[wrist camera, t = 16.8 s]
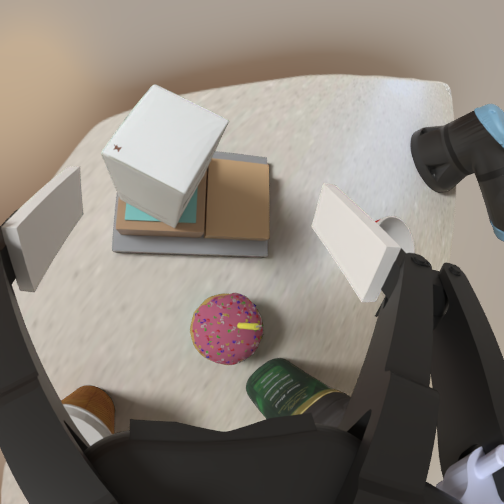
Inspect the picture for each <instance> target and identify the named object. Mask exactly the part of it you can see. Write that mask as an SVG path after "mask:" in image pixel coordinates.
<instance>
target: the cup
mask: <svg viewBox="0 0 504 504" xmlns="http://www.w3.org/2000/svg"><path fill="white" fill-rule="evenodd" d="M375 222H376V223H377V224H378V225H379V226H380V227H381V228H382V229H383V230H384V231H385V232H386V233H387V234H388V235H389V236H390V237H391V238H392V239H393V240H394V241H395V242H396V243H397V244H398V245H399V246H400V247H401V248H402V249H403V250H404V251H405V252H406V253H415V246H414V240H413V236H412V233H411V231H410V229H409V227H408V226H407V224H406V223H405V222H404V221H403V220H402V219H400V218H398V217H396V216H387V217H385V218H382V219H380V220H377V221H375Z"/></svg>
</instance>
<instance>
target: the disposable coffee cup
mask: <svg viewBox="0 0 504 504" xmlns="http://www.w3.org/2000/svg"><path fill="white" fill-rule="evenodd" d="M61 402H62V404H63V406H64V407H65V409H66V411H67V412H68V414H69V416H70V417H71V419H72V421H73V422H74V424H75V425H76V427H77V428H78V430H79V431H80V433H81V434H82V435H83V437H84V438H85V439H86V441H87V442H88V443H89V445H90V446H91V445H92V444H94V443H95V442H97V441H99V440H101V439H102V438H104V437H107V436H110V435H112V434H114V414H115V408H114V404H113V402H112V400H111V398H110V397H109V396H108V395H107V394H106V393H105V392H104V391H103V390H101V389H99V388H97V387H94V386H82V387H80V388H78V389H77V390H76V391H74V392H73V393H71V394H70V395H69V396H67V397H66V398H65V399H63V400H62V401H61Z"/></svg>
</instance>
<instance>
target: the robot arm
mask: <svg viewBox="0 0 504 504" xmlns="http://www.w3.org/2000/svg"><path fill="white" fill-rule="evenodd" d="M411 152H412V156H413V160H414V163H415V165H416V167H417V170H418V172H419V173H420V175H421V177H422V178H423V180H424V181H425V182H426V184H427V185H428V186H429V187H430V188H432V189H433V190H435V191H437V192H445V191H448V190H450V189H452V188H453V187H454V186H455V185H457V184H458V183H459V182H460V181H461V180H462V179H463V178H465V177H466V176H467V175H470V174H473V173H475V175H476V178H477V180H478V183H479V186H480V189H481V192H482V195H483V198H484V202H485V205H486V208H487V212H488V215H489V219H490V223H491V225H492V227H493V230H494V233H495V235H496V236H497V238H498V239H500V240H501V241H504V112H503V111H502V110H501V109H500V108H499V107H497V106H496V105H494V104H487V105H485V106H482V107H480V108H476V109H475V110H474V111H472V112H470V113H468V114H466V115H464V116H462V117H460V118H458V119H456V120H454V121H452V122H450V123H448V124H446V125H444V126H435V127H425V128H422V129H420V130H418V131H416V132H415V133H414V134H413V135H412V138H411ZM82 215H83V204H82V192H81V176H80V166H72V167H67V168H65V169H64V170H63V171H62V172H60V173H59V174H58V175H57V176H56V177H54V178H53V179H52V180H51V181H50V182H48V183H47V184H46V185H45V186H44V187H43V188H42V189H40V190H39V191H38V192H37V193H36V194H35V195H34V196H33V197H32V198H31V199H29V200H28V201H27V202H26V203H25V204H24V205H23V206H22V207H21V208H19V209H18V210H16V211H15V212H14V213H13V214H12V215H11V216H10V218H8V219H7V220H6V221H5V222H4V223H3V224H2V225H1V226H0V448H1V450H2V452H3V455H4V457H5V459H6V461H7V463H8V466H9V468H10V470H11V472H12V474H13V476H14V478H15V479H16V481H17V483H18V485H19V487H20V489H21V490H22V492H23V494H24V496H25V497H26V499H27V501H28V502H29V504H504V359H503V356H502V354H501V351H500V349H499V346H498V343H497V341H496V338H495V336H494V333H493V331H492V329H491V327H490V324H489V322H488V320H487V317H486V315H485V313H484V311H483V309H482V307H481V305H480V303H479V300H478V298H477V297H476V294H475V293H474V291H473V289H472V287H471V285H470V283H469V281H468V279H467V277H466V276H465V274H464V273H463V272H462V271H461V270H460V268H459V267H457V266H456V265H452V264H450V263H444V264H443V266H442V268H441V270H440V272H439V271H436V270H432V267H431V264H430V263H429V262H428V261H427V260H426V259H425V258H424V257H422V256H421V255H418V254H415V253H406V252H405V251H404V250H403V249H402V248H401V247H400V246H399V245H398V244H397V243H396V242H395V241H394V240H393V239H392V238H391V237H390V236H389V235H388V234H387V233H386V232H385V231H384V230H383V229H382V228H381V227H380V226H379V225H378V224H377V223H376V222H375V221H374V220H373V219H372V218H371V217H370V216H369V215H367V214H366V213H365V212H364V211H363V210H362V209H361V208H360V207H359V206H358V205H357V204H356V203H355V202H354V201H352V200H351V199H350V198H349V197H348V196H347V195H346V194H345V193H344V192H342V191H341V190H340V189H339V188H338V187H337V186H336V185H332V184H325V183H323V186H322V189H321V193H320V197H319V201H318V204H317V208H316V212H315V215H314V219H313V222H312V226H311V227H312V228H313V230H314V231H315V233H316V234H317V235H318V237H319V238H320V240H321V241H322V243H323V244H324V246H325V247H326V249H327V250H328V252H329V253H330V254H331V256H332V257H333V259H334V260H335V262H336V263H337V265H338V266H339V268H340V269H341V271H342V272H343V274H344V276H345V277H346V279H347V280H348V282H349V283H350V285H351V286H352V288H353V289H354V291H355V293H356V294H357V296H358V297H359V299H360V300H361V302H376V300H377V298H378V296H379V294H380V292H381V290H382V291H383V293H384V294H385V298H384V300H383V302H382V304H381V306H380V308H379V309H378V311H377V313H376V315H375V316H376V317H378V319H377V322H376V326H375V329H374V333H373V336H372V339H371V342H370V346H369V349H368V352H367V355H366V358H365V361H364V364H363V366H362V369H361V372H360V375H359V378H358V380H357V383H356V386H355V388H354V391H353V394H352V396H351V399H350V401H349V404H348V406H347V409H346V411H345V413H344V416H343V418H342V420H341V422H340V424H339V426H338V427H337V428H335V427H332V426H328V425H323V424H318V423H315V422H314V419H313V416H312V413H304V414H298V415H290V416H283V417H274V418H269V419H266V420H263V421H260V422H257V423H254V424H251V425H248V426H245V427H242V428H239V429H235V430H232V431H228V432H221V431H215V430H210V429H205V428H200V427H196V426H191V425H187V424H183V423H178V422H166V421H147V420H134V419H130V430H129V431H123V432H119V433H115V434H112V435H110V436H107V437H104V438H102V439H101V440H99V441H97V442H95V443H94V444H92V445H91V446H90V445H89V443H88V442H87V441H86V439H85V438H84V437H83V435H82V434H81V433H80V431H79V430H78V428H77V427H76V425H75V424H74V422H73V421H72V419H71V417H70V416H69V414H68V412H67V411H66V409H65V407H64V406H63V404H62V402H61V400H60V398H59V397H58V395H57V393H56V391H55V389H54V387H53V386H52V384H51V382H50V380H49V378H48V376H47V374H46V372H45V370H44V368H43V365H42V363H41V361H40V359H39V357H38V355H37V352H36V350H35V348H34V345H33V343H32V341H31V338H30V336H29V333H28V331H27V328H26V325H25V323H24V320H23V317H22V314H21V312H20V309H19V306H18V303H17V300H16V296H15V293H14V290H13V288H12V283H13V282H14V280H15V278H16V281H17V284H18V286H19V289H20V291H28V292H35V291H36V289H37V287H38V285H39V283H40V282H41V280H42V278H43V276H44V275H45V273H46V271H47V269H48V268H49V266H50V264H51V263H52V261H53V259H54V258H55V256H56V255H57V253H58V251H59V250H60V248H61V247H62V245H63V243H64V242H65V240H66V239H67V237H68V236H69V234H70V233H71V231H72V230H73V228H74V227H75V225H76V224H77V222H78V221H79V220H80V218H81V217H82ZM446 311H447V312H446ZM430 374H431V379H432V386H433V388H430V387H429V384H430ZM436 427H437V434H438V449H439V458H440V465H441V471H442V475H443V481H441V482H439V483H438V484H437V485H436V487H434V486H433V485H431V484H429V483H427V482H426V478H427V474H428V470H429V466H430V461H431V456H432V451H433V445H434V440H435V433H436Z"/></svg>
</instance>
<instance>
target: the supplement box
mask: <svg viewBox="0 0 504 504" xmlns="http://www.w3.org/2000/svg"><path fill="white" fill-rule="evenodd" d="M228 123H229V120H227V119H225V118H223V117H221V116H219V115H218V114H216V113H214V112H212V111H210V110H208V109H206V108H204V107H202V106H200V105H197V104H195V103H193V102H191V101H189V100H187V99H185V98H183V97H181V96H179V95H177V94H175V93H173V92H171V91H168V90H166V89H164V88H162V87H160V86H158V85H153V86H152V87H151V88H150V89H149V90H148V91H147V93H146V94H145V95H144V96H143V97H142V99H141V100H140V101H139V102H138V103H137V105H136V106H135V107H134V108H133V110H132V111H131V112H130V113H129V115H128V116H127V117H126V118H125V120H124V121H123V123H122V124H121V125H120V127H119V128H118V129H117V131H116V132H115V134H114V135H113V136H112V138H111V139H110V141H109V142H108V143H107V145H106V146H105V148H104V149H103V150H102V152H101V154H102V157H103V159H104V162H105V164H106V167H107V169H108V172H109V174H110V176H111V179H112V181H113V184H114V186H115V188H116V191H117V193H118V195H119V197H120V200H122V201H124V202H126V203H128V204H129V205H131V206H133V207H135V208H137V209H139V210H141V211H143V212H145V213H147V214H148V215H150V216H152V217H154V218H156V219H158V220H160V221H161V222H163V223H165V224H167V225H169V226H171V227H173V228H175V227H176V226H177V224H178V221H179V219H180V217H181V216H182V214H183V212H184V210H185V208H186V206H187V205H188V203H189V201H190V199H191V197H192V196H193V194H194V192H195V190H196V188H197V187H198V185H199V183H200V181H201V179H202V178H203V176H204V174H205V172H206V170H207V168H208V166H209V164H210V161H211V159H212V157H213V155H214V153H215V151H216V148H217V146H218V144H219V142H220V139H221V137H222V135H223V133H224V131H225V129H226V127H227V125H228Z"/></svg>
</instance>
